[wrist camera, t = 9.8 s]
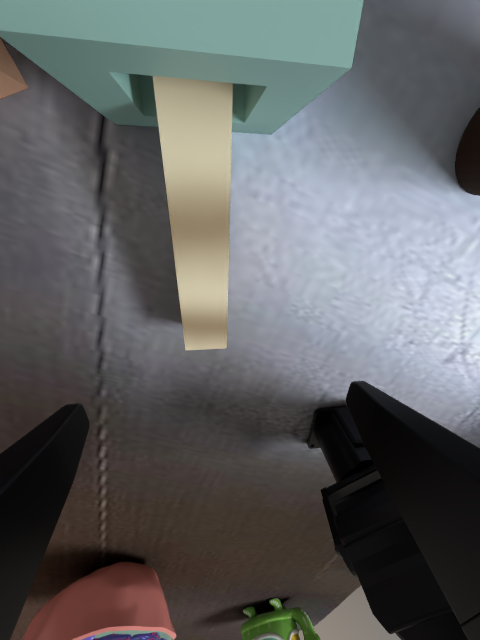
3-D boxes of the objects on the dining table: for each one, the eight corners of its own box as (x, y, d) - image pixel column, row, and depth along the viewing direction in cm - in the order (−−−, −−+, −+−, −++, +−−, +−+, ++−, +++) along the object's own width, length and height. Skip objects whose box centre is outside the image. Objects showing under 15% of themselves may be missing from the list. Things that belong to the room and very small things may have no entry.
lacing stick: (223, 323, 20) (226, 348, 18) (187, 324, 20) (185, 350, 18) (229, -139, 8) (240, -248, 6) (136, -158, 8) (108, -285, 5)
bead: (271, 134, 15) (351, 68, 7) (114, 124, 13) (-10, 29, 6) (280, 12, 12) (418, -307, 4) (91, -13, 11) (-182, -514, 3)
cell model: (25, 560, 34) (-48, 711, 24) (168, 531, 36) (154, 662, 26) (73, 598, 42) (33, 723, 32) (187, 573, 44) (183, 685, 34)
